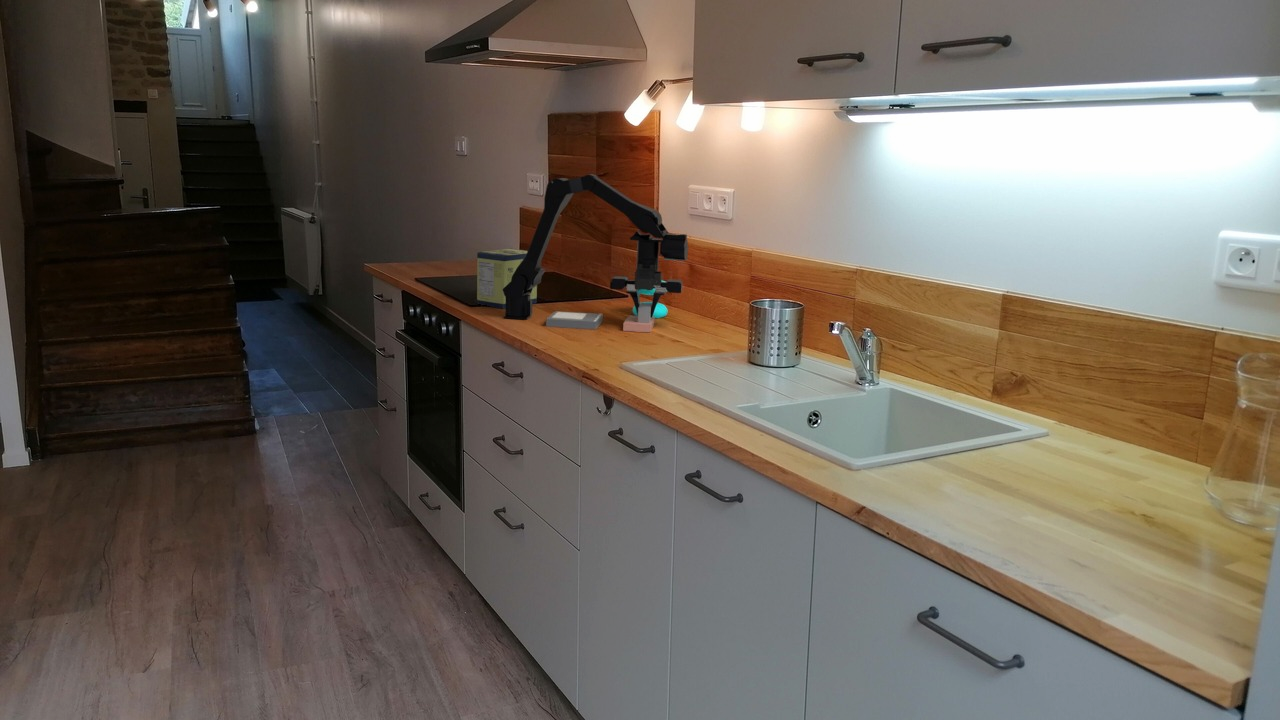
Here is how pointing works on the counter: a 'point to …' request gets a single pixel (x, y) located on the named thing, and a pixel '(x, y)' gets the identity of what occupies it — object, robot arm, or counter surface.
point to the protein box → (498, 275)
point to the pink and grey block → (640, 319)
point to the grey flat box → (574, 320)
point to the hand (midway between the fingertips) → (645, 316)
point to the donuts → (660, 308)
